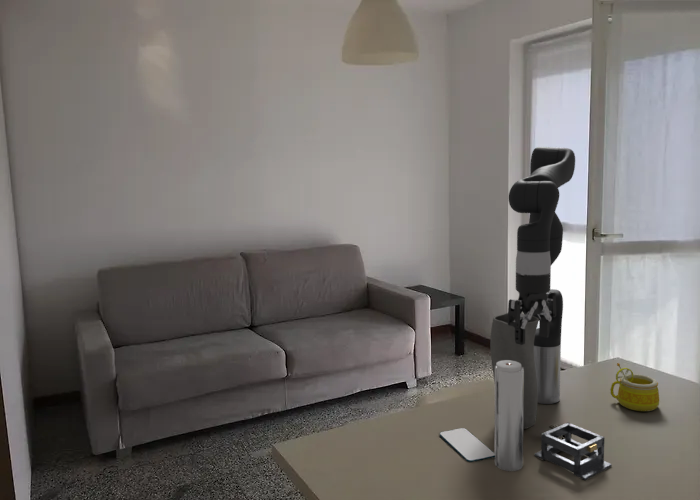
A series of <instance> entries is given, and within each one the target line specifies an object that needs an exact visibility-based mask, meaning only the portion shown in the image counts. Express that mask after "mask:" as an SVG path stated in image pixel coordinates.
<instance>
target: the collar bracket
mask: <svg viewBox="0 0 700 500" xmlns="http://www.w3.org/2000/svg"><path fill="white" fill-rule="evenodd" d="M572 435H574V436H576V437H578V438H580V439H583V440H586V441H587V442H584V443H581V442H579V441H576V440H574V439H572ZM563 436H564V438H563V439H560V437H563ZM540 438H541V440H540V441H541V442H540V443H541V444H540V445H541V447H540V448H541V449H540V450H539V451H537V452H535V453H534V454H533V455H534V457H536V458H537V459H539V460H542V461H548V462H550V463H552V464H554V465H557V466H558V467H560V468H563V469H565V470H567V471H568V472H571V473H573V475H574V477H577V478H579V479H582V480H584V481H587V480H589V479H591V478H593V477H595V476H596V475H599V474H600V473H602V472H604V471H606V470H608V469H609V468H612V466H613V465H612V463H610V462H608V461H605V436H602V435H600V434H598V433H595V432H593V431H590V430H587V429H586V428H583V427H581V426H578V425H575V424H573V423H570V422H566V423H563V424H561V425H559V426H557V427H554V428H552V429H549V430H546V431H545V432H542V433H541V437H540ZM560 452H563V453H565V454H567V455H570V456H572V457H573V461H572V460H570V459H568V458H566V457H564V456H562V455H559V453H560ZM583 456H586V458H584V459H583V460H581V458H582V457H583Z"/></svg>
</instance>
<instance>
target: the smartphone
mask: <svg viewBox="0 0 700 500" xmlns="http://www.w3.org/2000/svg"><path fill="white" fill-rule="evenodd" d="M439 436H440V438H441V439H442V440H443V441H444V442H445V443H447V445H448V446H450V447H451V448H452V449H453V450H454V451H455V452H456V453H458V454H459V456H461V458H463V459H464V460H465V461H466V462H468V463H475V462H478V461H479V462H480V461H483V460H488V459H493V458H494V459H495V451H493V450H491V449H490V448H489V447H488V446H487V445H486V444H485V443H484V442H482V441H481V440H480V439H479V438H478V437H476V436H475V435H474V434H473V433H472V432H470V430H469V429H467V428H464V427H460V428H455V429H450V430H445V431H440V432H439Z"/></svg>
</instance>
